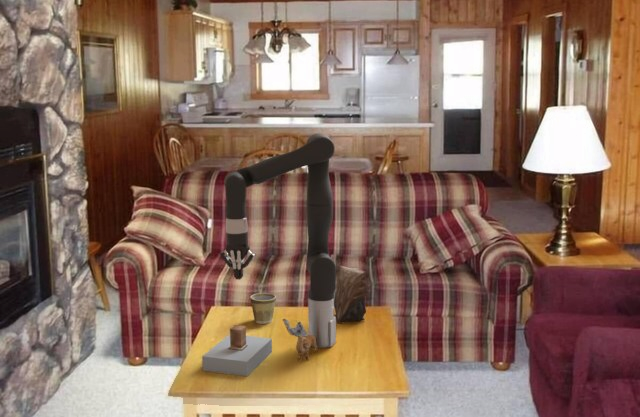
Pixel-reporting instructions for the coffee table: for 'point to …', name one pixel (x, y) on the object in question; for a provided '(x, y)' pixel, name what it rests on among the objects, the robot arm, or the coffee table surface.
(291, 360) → the coffee table surface
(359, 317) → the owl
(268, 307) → the ceramic cup
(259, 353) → the grey rectangular block
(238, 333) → the walnut peg
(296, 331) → the driftwood
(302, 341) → the lion figurine
